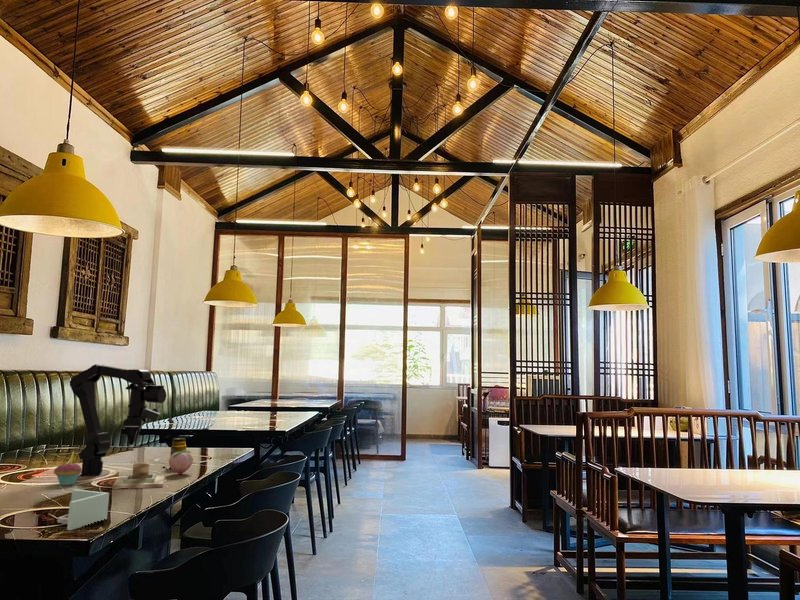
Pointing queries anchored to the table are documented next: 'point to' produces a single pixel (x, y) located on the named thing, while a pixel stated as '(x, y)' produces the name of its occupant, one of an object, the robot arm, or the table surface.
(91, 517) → the l-shaped corner panel
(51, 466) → the table surface
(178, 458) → the decorative fruit
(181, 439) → the condiment
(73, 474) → the cupcake
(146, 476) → the block
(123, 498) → the table surface
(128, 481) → the board
